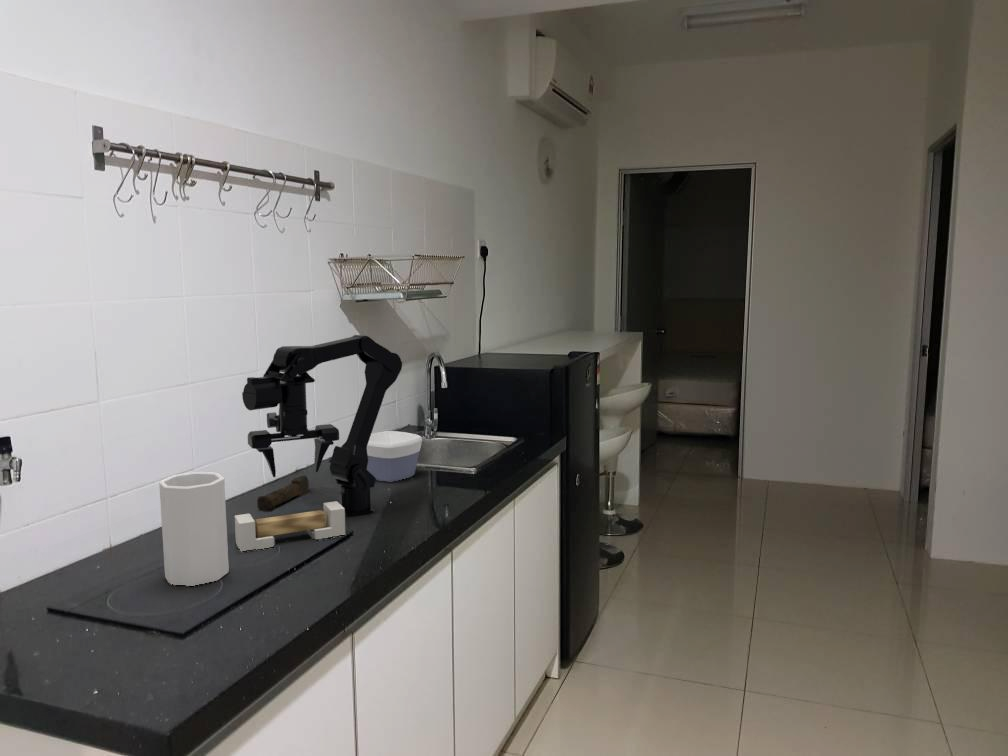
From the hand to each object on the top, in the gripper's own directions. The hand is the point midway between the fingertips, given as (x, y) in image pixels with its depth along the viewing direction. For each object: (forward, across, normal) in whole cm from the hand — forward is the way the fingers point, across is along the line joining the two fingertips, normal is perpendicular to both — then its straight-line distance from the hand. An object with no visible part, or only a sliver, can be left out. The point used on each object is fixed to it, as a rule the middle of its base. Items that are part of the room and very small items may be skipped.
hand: (295, 474), depth 169 cm
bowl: (+12, -33, -31) cm, 47 cm away
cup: (+12, +23, +19) cm, 32 cm away
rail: (+12, +3, +8) cm, 14 cm away
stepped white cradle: (+12, +3, +8) cm, 14 cm away
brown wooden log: (+12, -2, -22) cm, 25 cm away
